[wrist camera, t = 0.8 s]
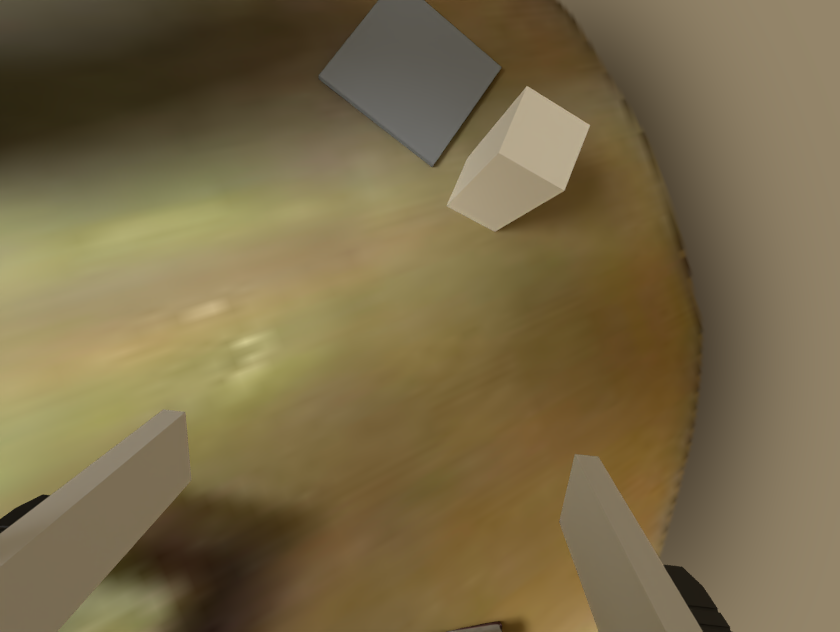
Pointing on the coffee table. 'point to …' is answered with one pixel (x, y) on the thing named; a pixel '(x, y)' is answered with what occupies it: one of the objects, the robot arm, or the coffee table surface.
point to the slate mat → (411, 74)
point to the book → (482, 628)
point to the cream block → (519, 162)
